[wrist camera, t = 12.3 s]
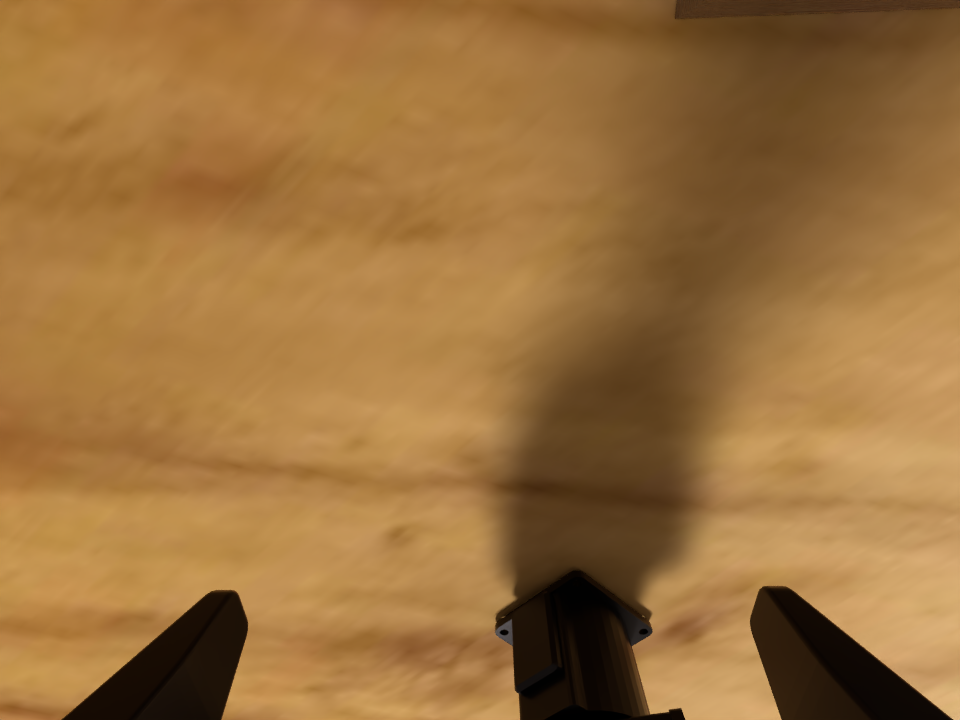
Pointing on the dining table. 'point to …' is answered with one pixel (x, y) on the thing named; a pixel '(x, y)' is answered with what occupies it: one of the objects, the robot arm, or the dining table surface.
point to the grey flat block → (798, 7)
